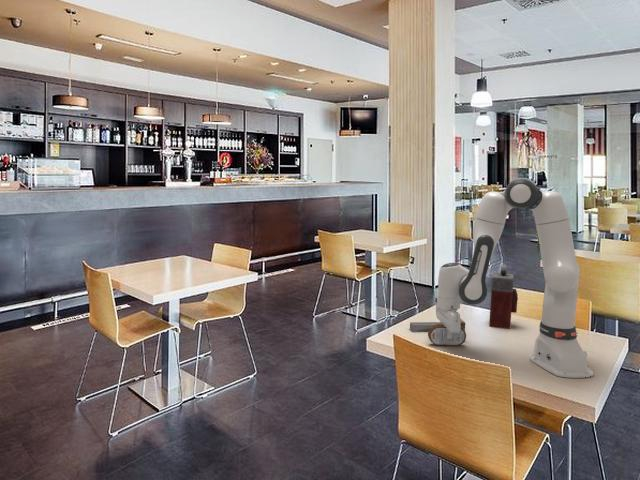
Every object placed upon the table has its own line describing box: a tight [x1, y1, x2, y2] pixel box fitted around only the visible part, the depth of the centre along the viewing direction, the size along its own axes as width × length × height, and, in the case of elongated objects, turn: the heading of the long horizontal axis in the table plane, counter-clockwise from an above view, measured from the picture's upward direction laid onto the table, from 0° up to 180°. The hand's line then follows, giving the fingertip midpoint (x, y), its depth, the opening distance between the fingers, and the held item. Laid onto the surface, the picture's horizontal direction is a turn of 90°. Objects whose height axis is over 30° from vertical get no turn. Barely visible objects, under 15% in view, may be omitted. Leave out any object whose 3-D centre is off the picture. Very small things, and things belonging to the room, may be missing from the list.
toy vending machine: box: [488, 264, 519, 330], centre depth 220 cm, size 9×11×28 cm
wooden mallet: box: [409, 317, 466, 333], centre depth 208 cm, size 16×19×8 cm
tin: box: [427, 324, 467, 347], centre depth 196 cm, size 15×3×8 cm, turn 88°
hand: (447, 336), depth 196 cm, fingers closed on tin, 3 cm apart
